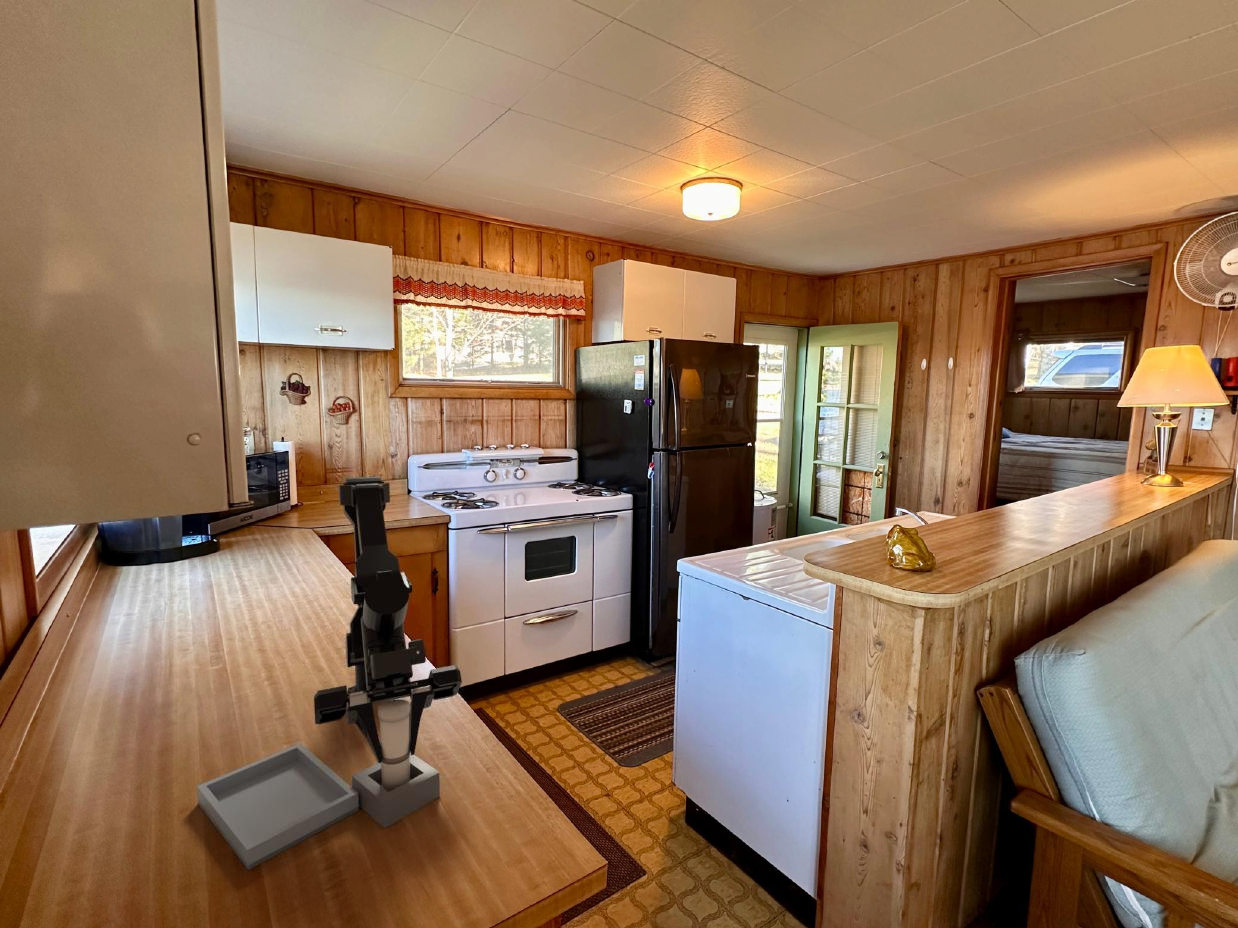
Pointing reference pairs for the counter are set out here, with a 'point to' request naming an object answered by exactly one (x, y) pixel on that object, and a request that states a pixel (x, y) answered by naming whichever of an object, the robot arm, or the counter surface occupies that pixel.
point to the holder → (396, 792)
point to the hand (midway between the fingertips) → (396, 758)
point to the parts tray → (276, 803)
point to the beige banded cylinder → (394, 743)
